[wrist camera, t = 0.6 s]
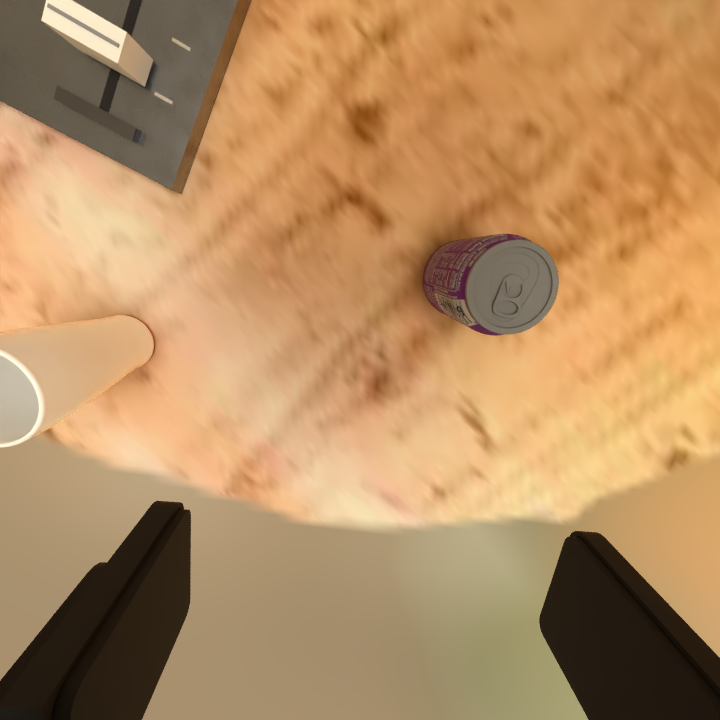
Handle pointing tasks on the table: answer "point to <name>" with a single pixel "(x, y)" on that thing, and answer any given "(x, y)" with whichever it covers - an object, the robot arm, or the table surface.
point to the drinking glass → (63, 370)
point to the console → (124, 79)
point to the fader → (98, 38)
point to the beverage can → (492, 283)
